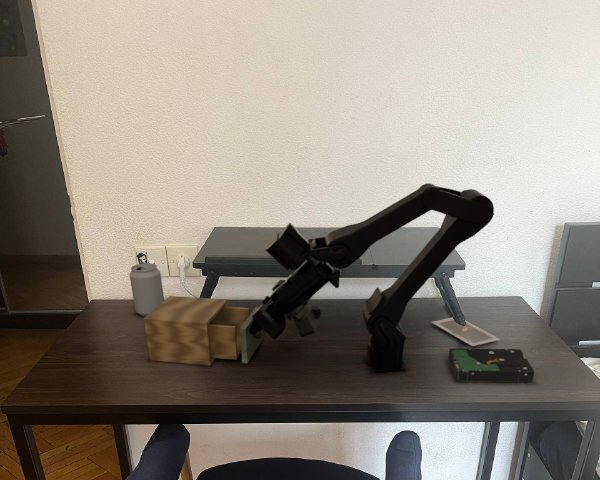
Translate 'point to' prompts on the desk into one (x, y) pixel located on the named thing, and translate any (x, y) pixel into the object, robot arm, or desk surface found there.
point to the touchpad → (466, 332)
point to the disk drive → (490, 365)
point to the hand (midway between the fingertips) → (251, 332)
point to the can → (146, 287)
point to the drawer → (233, 334)
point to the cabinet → (182, 329)
